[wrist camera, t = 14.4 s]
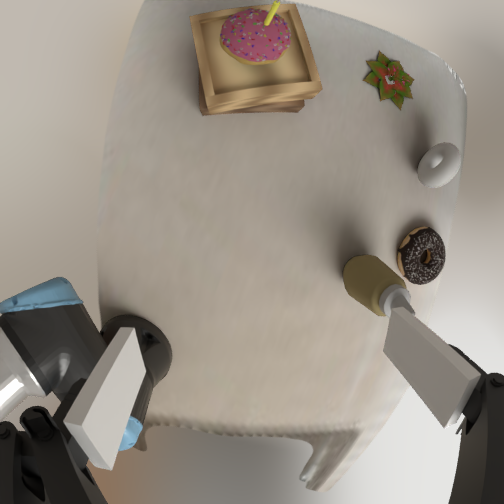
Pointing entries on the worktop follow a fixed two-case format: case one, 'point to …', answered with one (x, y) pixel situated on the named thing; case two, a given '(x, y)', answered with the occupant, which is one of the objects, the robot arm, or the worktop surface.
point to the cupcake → (255, 36)
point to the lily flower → (397, 75)
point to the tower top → (253, 76)
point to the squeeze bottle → (375, 285)
